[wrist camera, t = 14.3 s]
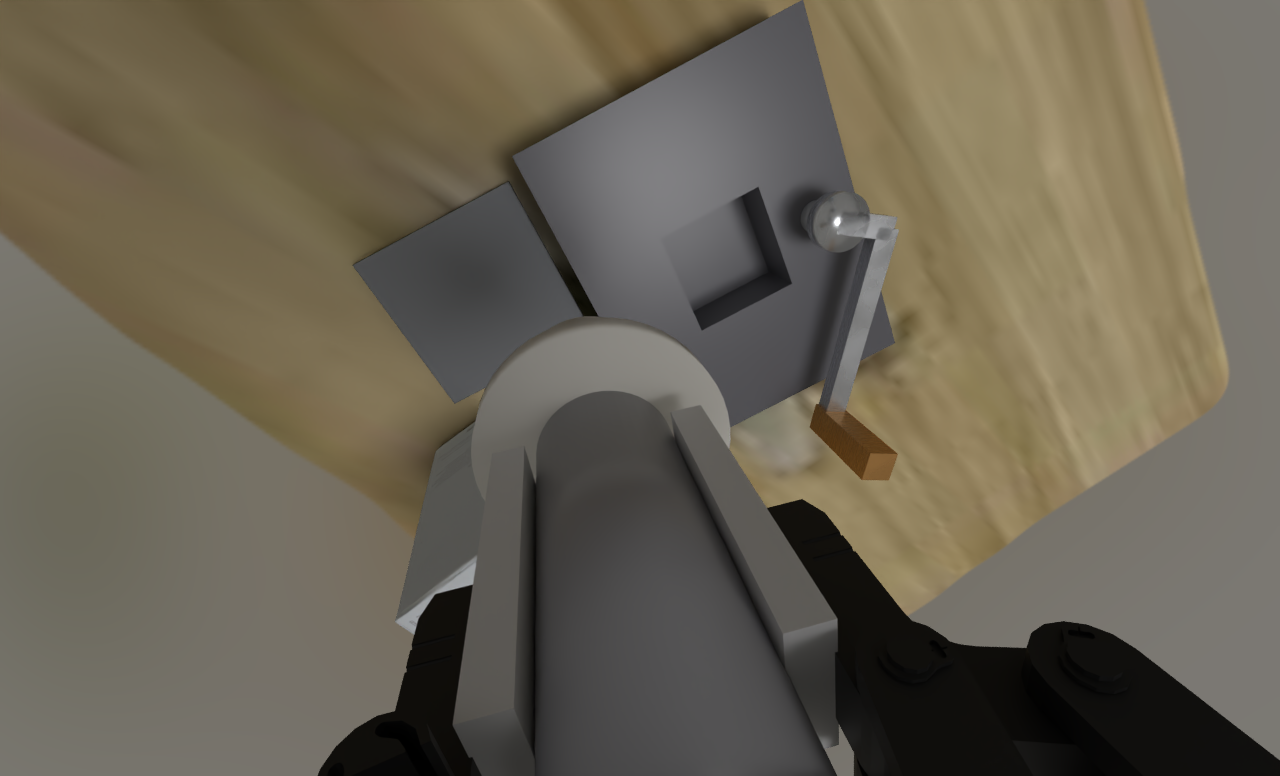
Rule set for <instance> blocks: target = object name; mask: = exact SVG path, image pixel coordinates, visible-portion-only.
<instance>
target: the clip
mask: <svg viewBox="0 0 1280 776" xmlns="http://www.w3.org/2000/svg"><path fill="white" fill-rule="evenodd" d="M896 221H897V217H893V216H888V215H881V214H873V213H870V212H869V207H868V205H867V203H866V201H865V200H864V199H863V198H862V197H861V196H859V195H858V194H856V193H852V192H845V191H832V192H829V193H826V194H824V195H823V196H821V197H820V198H819V199H818V200H817V201H816V202H815V203H814V204H813V206H812V208H811V209H810V212H809V214H808V217H807V232H808V235H809V238H810V239H811V241H812V242H813V243H814V244H815V245H816V246H818V247H820V248H822V249H825V250H828V251H831V252H845V251H848V250H850V249H852V248H853V247H855V246H856V245H857V244H858V243H859V242H860V241H861V240H862V239H863V238H865V239H864V242H863V246H862V250H861V253H860V257H859V261H858V264H857V268H856V271H855V275H854V279H853V282H852V286H851V290H850V293H849V297H848V301H847V304H846V308H845V311H844V315H843V319H842V322H841V326H840V330H839V333H838V337H837V341H836V344H835V348H834V351H833V355H832V359H831V362H830V366H829V370H828V373H827V377H826V381H825V384H824V388H823V392H822V395H821V399H820V402H819V404H816V406H815V410H814V413H813V417H812V421H811V424H810V428H811V429H812V430H813V431H814V432H815V433H816V434H817V435H818V436H819V437H820V438H821V439H822V440H823V441H824V442H825V443H826V444H827V445H828V446H829V447H830V448H831V449H832V450H833V451H834V452H835V453H836V454H837V455H838V456H839V457H840V458H841V459H842V460H843V461H844V462H845V463H846V464H847V465H848V466H849V467H850V468H851V469H852V470H853V471H854V472H855V473H856V474H857V475H858V476H859V477H860V478H861V479H862V480H889V478H890V475H891V472H892V470H893V467H894V464H895V461H896V458H897V455H898V454H897V453H896V452H895V451H894V450H893V449H891V448H890V447H889V446H888V445H887V444H885V443H884V442H883V441H882V440H881V439H879V438H878V437H877V436H876V435H875V434H873V433H872V432H871V431H870V430H869V429H867V428H866V427H865V426H864V425H863V424H861V423H860V422H859V421H858V420H857V419H856V418H854V417H853V416H852V415H851V414H850V413H848V412H847V411H846V407H847V403H848V400H849V396H850V393H851V390H852V386H853V383H854V380H855V376H856V373H857V370H858V366H859V363H860V359H861V356H862V353H863V349H864V346H865V343H866V339H867V336H868V332H869V329H870V326H871V322H872V319H873V316H874V312H875V309H876V306H877V302H878V299H879V295H880V292H881V289H882V285H883V282H884V279H885V275H886V272H887V268H888V265H889V262H890V258H891V255H892V252H893V248H894V245H895V241H896V238H897V235H898V231H899V230H898V229H894V227H895V224H896Z"/></svg>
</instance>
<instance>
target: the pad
mask: <svg viewBox="0 0 1280 776" xmlns="http://www.w3.org/2000/svg"><path fill="white" fill-rule="evenodd" d="M353 266H354V268H355V269H356V271H357V272H358V273H359V275H360V276H361V277H362V279H363V280H364V281H365V283H366V284H367V285H368V287H369V288H370V290H371V291H372V292H373V294H374V295H375V296H376V298H377V299H378V300H379V302H380V303H381V304H382V306H383V307H384V309H385V310H386V311H387V313H388V314H389V315H390V317H391V318H392V319H393V321H394V322H395V323H396V325H397V326H398V328H399V329H400V330H401V332H402V333H403V334H404V336H405V337H406V338H407V340H408V341H409V342H410V344H411V345H412V347H413V348H414V349H415V351H416V352H417V353H418V355H419V356H420V357H421V359H422V360H423V361H424V363H425V364H426V366H427V367H428V368H429V370H430V371H431V372H432V374H433V375H434V376H435V378H436V379H437V380H438V382H439V383H440V385H441V386H442V387H443V389H444V390H445V391H446V393H447V394H448V395H449V397H450V398H451V399H452V401H453V402H454V404H455V403H457V402H459V401H461V400H463V399H465V398H466V397H468V396H470V395H472V394H474V393H476V392H478V391H480V390H482V389H484V388H486V387H487V385H488V383H489V381H490V380H491V378H492V376H493V374H494V373H495V372H496V371H497V369H498V368H499V367H500V365H501V364H502V363H503V362H504V361H505V360H506V359H507V358H508V357H509V356H510V355H511V354H512V353H513V352H514V351H515V350H516V349H517V348H519V347H520V346H521V345H523V344H524V343H525V342H527V341H528V340H529V339H531V338H533V337H535V336H536V335H538V334H540V333H542V332H544V331H546V330H548V329H550V328H551V327H553V326H555V325H557V324H559V323H561V322H563V321H566V320H569V319H573V318H576V317H584V316H583V314H582V312H581V311H580V309H579V307H578V305H577V303H576V302H575V300H574V298H573V296H572V294H571V293H570V291H569V289H568V287H567V285H566V283H565V282H564V280H563V278H562V276H561V274H560V273H559V271H558V269H557V267H556V265H555V264H554V262H553V260H552V258H551V256H550V255H549V253H548V251H547V249H546V247H545V246H544V244H543V242H542V240H541V238H540V237H539V235H538V233H537V231H536V229H535V228H534V226H533V224H532V222H531V220H530V219H529V217H528V215H527V213H526V211H525V210H524V208H523V206H522V204H521V202H520V201H519V199H518V197H517V195H516V193H515V192H514V190H513V188H512V186H511V184H510V183H509V181H508V182H507V183H505V184H503V185H501V186H499V187H497V188H495V189H493V190H492V191H490V192H488V193H486V194H484V195H482V196H480V197H479V198H477V199H475V200H473V201H471V202H469V203H467V204H466V205H464V206H462V207H460V208H458V209H456V210H454V211H453V212H451V213H449V214H447V215H445V216H443V217H441V218H439V219H438V220H436V221H434V222H432V223H430V224H428V225H426V226H425V227H423V228H421V229H419V230H417V231H415V232H413V233H412V234H410V235H408V236H406V237H404V238H402V239H400V240H398V241H397V242H395V243H393V244H391V245H389V246H387V247H385V248H384V249H382V250H380V251H378V252H376V253H374V254H372V255H371V256H369V257H367V258H365V259H363V260H361V261H359V262H358V263H356V264H354V265H353Z"/></svg>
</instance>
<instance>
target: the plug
mask: <svg viewBox="0 0 1280 776" xmlns="http://www.w3.org/2000/svg"><path fill="white" fill-rule="evenodd" d="M698 405H701V406H702V408H703V409H704V411H705V412H706V414H707V416H708V417H709V419H710V420H711V422H712V423H713V425H714V426H715V428H716V430H717V431H718V433H719V434H720V436H721V437H722V439H723V441H724V442H725V444H726V445H727V447H728V448H729V447H730V423H729V416H728V411H727V408H726V405H725V402H724V399H723V396H722V394H721V392H720V390H719V388H718V386H717V384H716V383H715V382H714V380H713V379H712V377H711V376H710V374H709V373H708V372H707V370H706V369H705V368H704V366H703V365H702V364H701V363H700V361H699V360H698V359H697V358H696V357H695V356H694V354H693V353H692V352H691V351H690V350H689V349H688V348H687V347H686V346H684V345H683V344H682V343H680V342H679V341H678V340H677V339H675V338H674V337H672V336H670V335H669V334H667V333H665V332H664V331H662V330H660V329H657V328H655V327H652V326H650V325H648V324H644V323H641V322H637V321H633V320H628V319H621V318H604V317H596V316H584V317H576V318H573V319H569V320H566V321H563V322H561V323H559V324H557V325H555V326H553V327H551V328H550V329H548V330H546V331H544V332H542V333H540V334H538V335H536V336H535V337H533V338H531V339H529V340H528V341H527V342H525V343H524V344H523V345H521V346H520V347H519V348H517V349H516V350H515V351H514V352H513V353H512V354H511V355H510V356H509V357H508V358H507V359H506V360H505V361H504V362H503V363H502V364H501V365H500V367H499V368H498V369H497V371H496V372H495V373H494V374H493V376H492V378H491V380H490V381H489V383H488V385H487V387H486V388H485V391H484V393H483V396H482V398H481V401H480V404H479V408H478V412H477V417H476V421H475V425H474V430H473V434H472V443H471V459H472V468H473V472H474V477H475V481H476V484H477V486H478V488H479V491H480V493H481V496H482V497H483V499H484V501H485V499H486V492H487V485H488V478H489V472H490V465H491V458H492V453H496V452H500V451H505V450H509V449H513V448H518V447H522V446H525V450H526V453H527V456H528V460H529V463H530V466H531V470H532V473H533V476H534V479H535V483H536V601H535V776H837V775H836V773H835V771H834V769H833V766H832V764H831V762H830V760H829V758H828V756H827V754H826V752H825V750H824V748H823V745H822V743H821V741H820V739H819V737H818V735H817V733H816V731H815V729H814V727H813V725H812V723H811V721H810V718H809V716H808V714H807V712H806V710H805V708H804V706H803V704H802V702H801V700H800V698H799V696H798V694H797V691H796V689H795V687H794V685H793V683H792V681H791V679H790V677H789V675H788V673H787V672H786V670H785V668H784V666H783V664H782V662H781V660H780V658H779V656H778V653H777V651H776V649H775V647H774V645H773V643H772V641H771V639H770V637H769V635H768V633H767V630H766V628H765V626H764V624H763V622H762V620H761V618H760V616H759V614H758V612H757V610H756V608H755V605H754V603H753V601H752V599H751V597H750V595H749V593H748V591H747V589H746V587H745V585H744V582H743V580H742V578H741V576H740V574H739V572H738V570H737V568H736V566H735V564H734V562H733V560H732V557H731V555H730V553H729V551H728V549H727V547H726V545H725V543H724V541H723V539H722V537H721V535H720V532H719V530H718V528H717V526H716V524H715V522H714V520H713V518H712V516H711V514H710V512H709V509H708V507H707V505H706V503H705V501H704V499H703V497H702V495H701V493H700V491H699V489H698V487H697V484H696V482H695V480H694V478H693V476H692V474H691V472H690V470H689V468H688V466H687V464H686V461H685V459H684V457H683V455H682V453H681V451H680V449H679V447H678V445H677V443H676V441H675V438H674V432H673V425H672V419H671V413H670V412H672V411H676V410H681V409H685V408H689V407H694V406H698Z"/></svg>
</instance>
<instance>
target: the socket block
mask: <svg viewBox="0 0 1280 776" xmlns="http://www.w3.org/2000/svg"><path fill="white" fill-rule="evenodd" d="M512 157H513V159H514V161H515V163H516V165H517V166H518V168H519V170H520V172H521V174H522V176H523V178H524V179H525V181H526V183H527V185H528V187H529V189H530V190H531V192H532V194H533V196H534V198H535V200H536V202H537V203H538V205H539V207H540V209H541V211H542V213H543V215H544V216H545V218H546V220H547V222H548V224H549V226H550V227H551V229H552V231H553V233H554V235H555V237H556V239H557V240H558V242H559V244H560V246H561V248H562V250H563V252H564V253H565V255H566V257H567V259H568V261H569V263H570V264H571V266H572V268H573V270H574V272H575V274H576V276H577V277H578V279H579V281H580V283H581V285H582V287H583V288H584V290H585V292H586V294H587V296H588V298H589V300H590V301H591V303H592V305H593V307H594V309H595V311H596V313H597V314H598V316H599V317H604V318H621V319H628V320H633V321H637V322H641V323H644V324H648V325H650V326H652V327H655V328H657V329H660V330H662V331H664V332H665V333H667V334H669V335H670V336H672V337H674V338H675V339H677V340H678V341H679V342H680V343H682V344H683V345H684V346H686V347H687V348H688V349H689V350H690V351H691V352H692V353H693V354H694V356H695V357H696V358H697V359H698V360H699V361H700V363H701V364H702V365H703V366H704V368H705V369H706V370H707V372H708V373H709V374H710V376H711V377H712V379H713V380H714V382H715V383H716V384H717V386H718V388H719V390H720V392H721V394H722V396H723V399H724V402H725V405H726V408H727V411H728V416H729V423H730V427H732V426H734V425H736V424H738V423H740V422H742V421H744V420H745V419H747V418H749V417H751V416H753V415H755V414H757V413H759V412H761V411H763V410H765V409H767V408H769V407H771V406H773V405H775V404H777V403H779V402H781V401H783V400H784V399H786V398H788V397H790V396H792V395H794V394H796V393H798V392H800V391H802V390H804V389H806V388H808V387H810V386H812V385H814V384H816V383H818V382H820V381H822V380H824V379H825V378H826V377H827V373H828V370H829V366H830V362H831V359H832V355H833V351H834V348H835V344H836V341H837V337H838V333H839V330H840V326H841V322H842V319H843V315H844V311H845V308H846V304H847V301H848V297H849V293H850V290H851V286H852V282H853V279H854V275H855V271H856V268H857V264H858V261H859V257H860V253H861V250H862V246H863V242H864V239H865V238H863V239H862V240H861V241H860V242H859V243H858V244H857V245H856V246H855V247H853V248H852V249H850V250H848V251H845V252H831V251H828V250H825V249H822V248H820V247H818V246H816V245H815V244H814V243H813V242H812V241H811V239H810V238H809V235H808V232H807V217H808V214H809V212H810V209H811V208H812V206H813V204H814V203H815V202H816V201H817V200H818V199H819V198H820V197H821V196H823V195H824V194H826V193H829V192H832V191H845V192H852V193H855V192H854V189H853V185H852V181H851V177H850V174H849V170H848V166H847V162H846V159H845V155H844V151H843V148H842V144H841V140H840V136H839V133H838V129H837V125H836V121H835V118H834V114H833V110H832V107H831V103H830V99H829V95H828V92H827V88H826V84H825V80H824V77H823V73H822V69H821V66H820V62H819V58H818V54H817V51H816V47H815V43H814V40H813V36H812V32H811V28H810V25H809V21H808V17H807V13H806V10H805V6H804V2H803V0H801V1H800V2H798V3H796V4H794V5H792V6H790V7H788V8H787V9H785V10H783V11H781V12H779V13H777V14H775V15H774V16H772V17H770V18H768V19H766V20H764V21H762V22H761V23H759V24H757V25H755V26H753V27H751V28H749V29H748V30H746V31H744V32H742V33H740V34H738V35H736V36H735V37H733V38H731V39H729V40H727V41H725V42H723V43H722V44H720V45H718V46H716V47H714V48H712V49H710V50H709V51H707V52H705V53H703V54H701V55H699V56H697V57H696V58H694V59H692V60H690V61H688V62H686V63H684V64H683V65H681V66H679V67H677V68H675V69H673V70H671V71H670V72H668V73H666V74H664V75H662V76H660V77H658V78H657V79H655V80H653V81H651V82H649V83H647V84H645V85H644V86H642V87H640V88H638V89H636V90H634V91H632V92H631V93H629V94H627V95H625V96H623V97H621V98H619V99H618V100H616V101H614V102H612V103H610V104H608V105H606V106H605V107H603V108H601V109H599V110H597V111H595V112H593V113H592V114H590V115H588V116H586V117H584V118H582V119H580V120H579V121H577V122H575V123H573V124H571V125H569V126H567V127H566V128H564V129H562V130H560V131H558V132H556V133H554V134H553V135H551V136H549V137H547V138H545V139H543V140H541V141H540V142H538V143H536V144H534V145H532V146H530V147H528V148H527V149H525V150H523V151H521V152H519V153H517V154H515V155H514V156H512ZM894 343H895V341H894V338H893V334H892V330H891V326H890V323H889V319H888V315H887V312H886V308H885V304H884V300H883V297H882V293H881V292H880V295H879V299H878V302H877V306H876V309H875V312H874V316H873V319H872V322H871V326H870V329H869V332H868V336H867V339H866V343H865V346H864V349H863V353H862V356H861V359H860V361H861V360H863V359H864V358H866V357H868V356H870V355H872V354H874V353H876V352H878V351H880V350H882V349H884V348H886V347H888V346H890V345H892V344H894Z"/></svg>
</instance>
